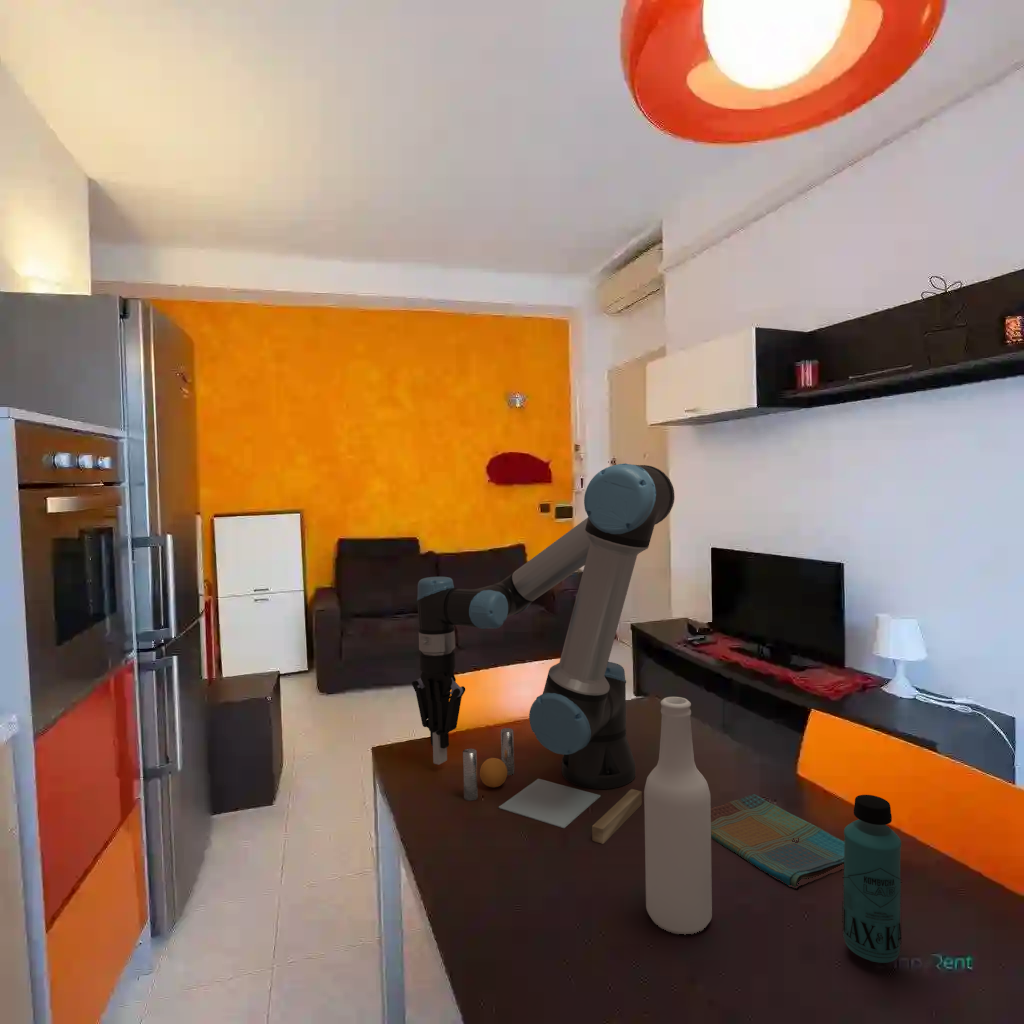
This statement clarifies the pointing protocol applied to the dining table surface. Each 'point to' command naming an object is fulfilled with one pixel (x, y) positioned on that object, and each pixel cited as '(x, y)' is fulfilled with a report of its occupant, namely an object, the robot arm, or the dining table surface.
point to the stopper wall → (616, 816)
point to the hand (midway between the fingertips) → (440, 761)
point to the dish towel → (775, 839)
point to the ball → (493, 772)
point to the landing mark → (550, 802)
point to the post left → (470, 774)
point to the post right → (507, 749)
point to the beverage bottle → (872, 882)
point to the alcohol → (677, 829)
